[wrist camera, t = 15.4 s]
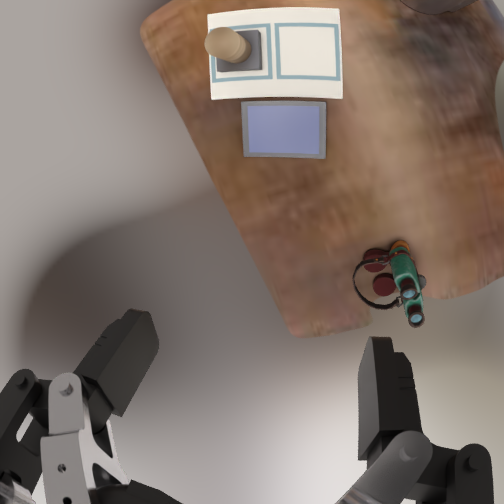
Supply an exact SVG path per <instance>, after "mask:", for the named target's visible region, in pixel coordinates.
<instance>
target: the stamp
mask: <svg viewBox="0 0 504 504" xmlns="http://www.w3.org/2000/svg"><path fill="white" fill-rule="evenodd" d="M205 49H206V51H207V52H208V53H209V54H210V55H211V56H214V57H216V64H217V72H222V73H223V72H235V71H251V70H262V50H261V33H260V32H259V30H245V31H234V30H232V29H230V28H228V27H218V28H215V29H213V30H212V31H211V32H209V34H208V35H207V36H206V39H205Z"/></svg>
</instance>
